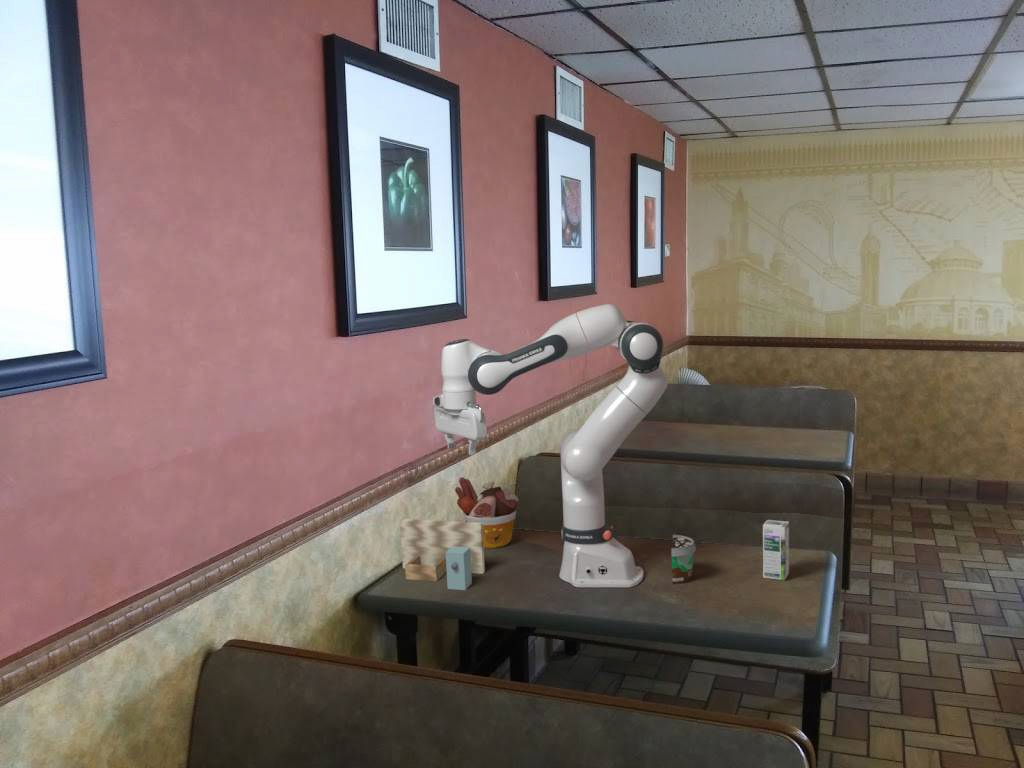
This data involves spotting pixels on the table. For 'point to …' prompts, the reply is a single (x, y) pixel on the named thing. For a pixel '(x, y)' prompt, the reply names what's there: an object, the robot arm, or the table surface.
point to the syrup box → (776, 549)
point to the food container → (682, 559)
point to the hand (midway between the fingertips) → (461, 451)
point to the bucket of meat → (489, 511)
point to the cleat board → (438, 546)
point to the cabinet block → (458, 568)
